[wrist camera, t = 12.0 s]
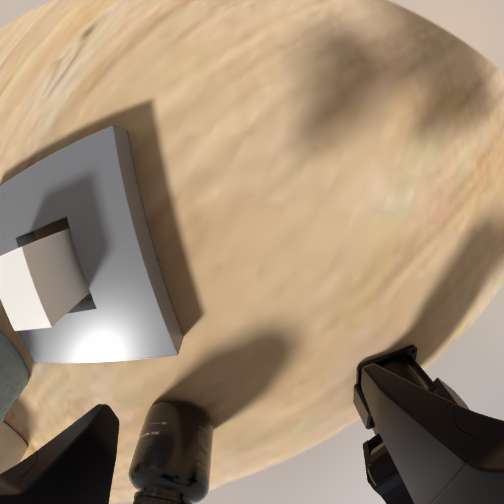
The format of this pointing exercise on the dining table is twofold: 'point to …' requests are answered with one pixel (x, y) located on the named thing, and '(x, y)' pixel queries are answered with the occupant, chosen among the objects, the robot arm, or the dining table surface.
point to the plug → (41, 281)
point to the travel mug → (10, 447)
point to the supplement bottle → (172, 455)
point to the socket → (95, 252)
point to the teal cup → (10, 375)
